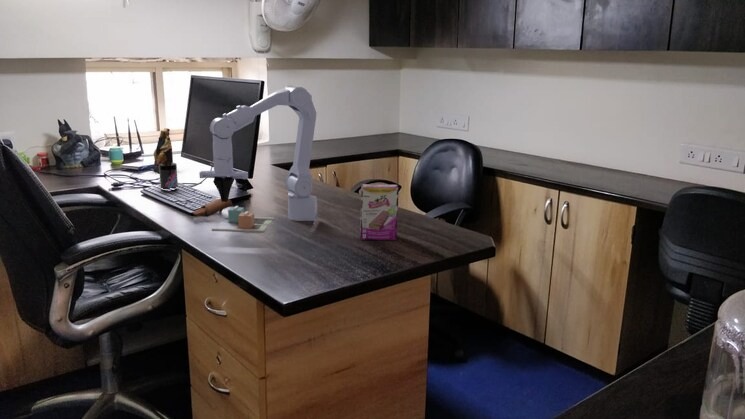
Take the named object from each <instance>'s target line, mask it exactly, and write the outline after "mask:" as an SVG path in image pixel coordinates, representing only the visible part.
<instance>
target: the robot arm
mask: <svg viewBox="0 0 745 419" xmlns="http://www.w3.org/2000/svg"><path fill="white" fill-rule="evenodd" d="M312 96H313V95H311V93H310V92H309V91H308V90H307V89H306V88H304V87H302V86H294V85H286V86H285V87H284V88H279V89H277V90H276V91H274V92H272V93H271V94H269V95H267V96H266V97H264V98H262V99H260V100H259V101H257V102H255V103H254V104H252V105H250V106H248V105H246V104H244V105H236V107H235V109H234V110H232V111H230V112H228V113H223V114H222V117H216V118H214V119H213V120H212V121H211V122H210V126H209V128H208V129H209V131H210V134H212V156H213V157H212V159H213V170H201V171H199V179H213V181H212V182H213V184H214V187H216V190H217V191H218V193H219V196H220V199H221V201H222V202H227V201H228V199H230V197H229V196H230V192H231V189H232V187H233V184H234V182H235V179H236V180H237V179H238V180H239V179H241V180H248V179H249V173H248V171H239V170H234V158H233V156H234V155H233V142H232V140H233V139H232V137H233V135H234V133H235V132H237V131H239V130H241V129H242V128H244V127H246V126H249V125H250V124H252V123H254V121H255V117H256V116H258V115H260V114H262V113H265V112H267V111H269V110H270V109H272V108H274V107H277V106H285V107H286V106H288V107H289V108H291V109H292V110H293V111H294V112H295V113H296V115H297V116H298V125H297V133H296V134H297V135H296V141H295V147H294V155H293V162H292V166H291V167H290V169H289V173H288V176H286V178H285V182H284V184H285V187H286V189H287V191H288V192H287V193H288V194H287V207H288V208H287V211H288V213H287V214H288V220H291V221H295V222H296V221H297V222H300V221H301V222H303V221H304V222H305V221H307V222H311V221H312V222H313V223H312V225H315V224H316V222H317V220H318V198H317V196H316V195H311V193H312V191H313V188H314V186H313V182H312V177H313V175H312V172H311V170H310V166H311V165H310V163H311V157H312V149H313V142H314V135H315V127H316V120H317V111H316V108H315V105H314V102H313V98H312Z"/></svg>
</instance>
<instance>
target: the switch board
mask: <svg viewBox="0 0 745 419" xmlns="http://www.w3.org/2000/svg"><path fill="white" fill-rule="evenodd" d="M224 219H228V216H224ZM254 220H255V221H254V226H253V228H252V229H243V228H239V226H238V227H237V228H225V227H224V228H223V227H219V228H218V227H211V231H212V232H213V231H219V232H249V233H250V232H251V233H264V232H265V230H266V229H267V228H268V227H269V225H270V224H271V222H273V221H274V220H275V217H263V216H262V217H261V216H260V217H259V216H254ZM259 222H260V223H262V225H261V224H260V225H258V224H259ZM227 223H228V224H231V223H232V224H233V223H234V222H229V220H228V221H227ZM255 224H257V225H255Z"/></svg>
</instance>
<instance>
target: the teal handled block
mask: <svg viewBox="0 0 745 419" xmlns="http://www.w3.org/2000/svg"><path fill="white" fill-rule="evenodd" d="M227 213H228V214H227V215H228V221H229V222H231V223H232V222H233V223H234V224H238V216H239V215H240V214H241V213H245V208H244V207H241V206H240V207H239V205H235V206H234V207H233V206H231V207H229V209H228V210H227Z"/></svg>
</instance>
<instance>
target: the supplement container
mask: <svg viewBox="0 0 745 419" xmlns="http://www.w3.org/2000/svg"><path fill="white" fill-rule="evenodd" d="M177 166H178V165H177V163H175V162H173V163H162V164H159V172H160V173H159V183H160V184H159V186H160V189H161V188H163V189H170V188H176V187H178V188H179V184H178V183H179V182H178V169H177V168H178V167H177Z"/></svg>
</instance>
